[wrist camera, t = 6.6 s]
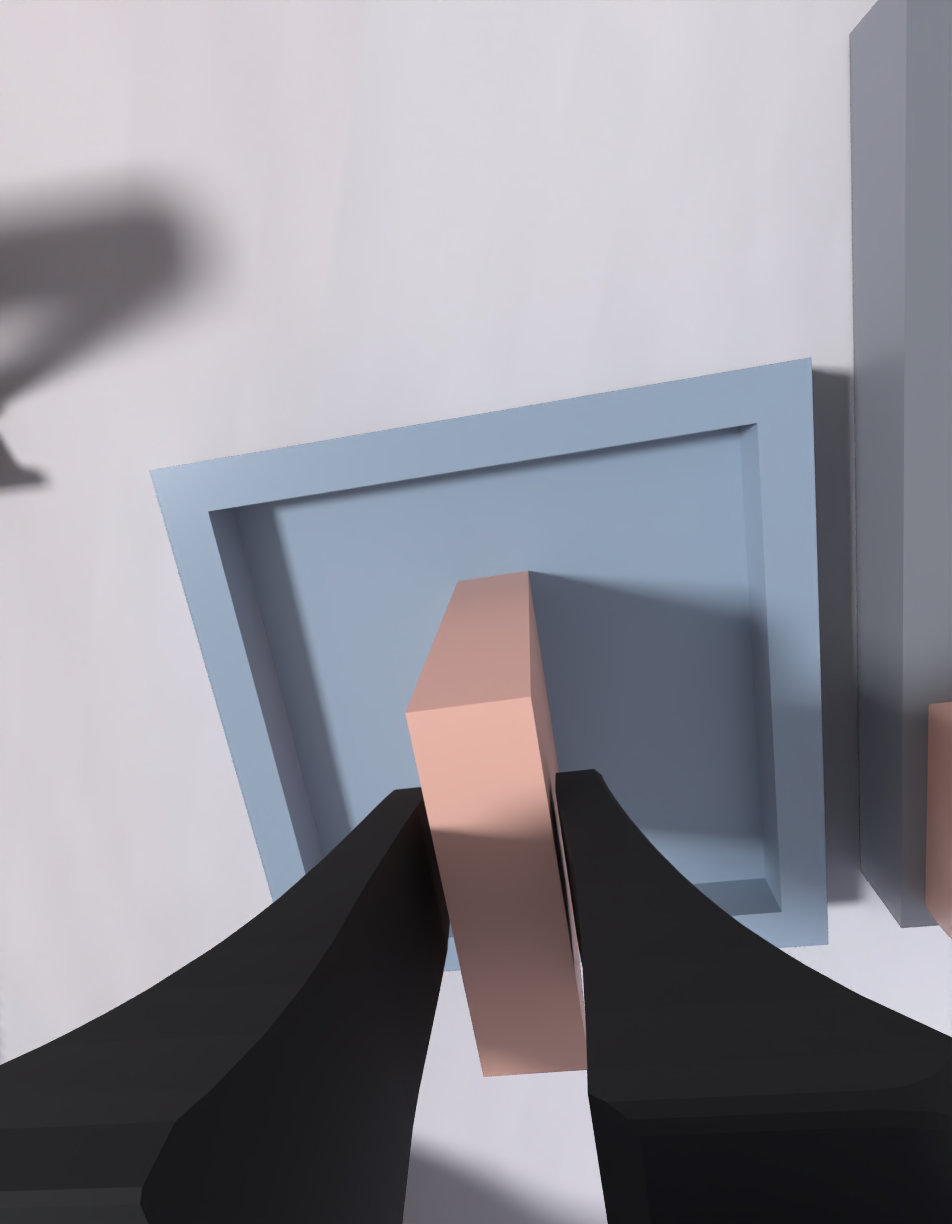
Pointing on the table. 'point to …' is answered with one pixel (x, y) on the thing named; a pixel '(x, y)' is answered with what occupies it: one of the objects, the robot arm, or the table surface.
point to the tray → (536, 617)
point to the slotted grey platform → (904, 450)
